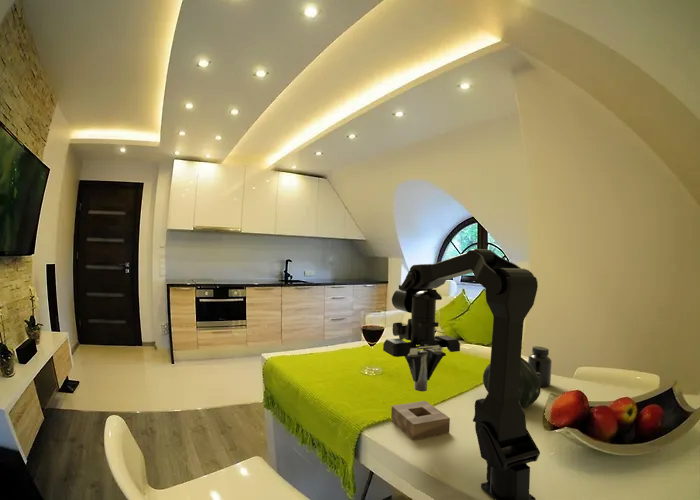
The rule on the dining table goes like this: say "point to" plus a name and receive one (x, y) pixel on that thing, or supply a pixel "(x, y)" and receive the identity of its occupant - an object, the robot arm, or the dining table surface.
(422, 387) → the pin
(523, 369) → the squash
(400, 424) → the hole block
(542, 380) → the supplement bottle
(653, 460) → the dining table surface
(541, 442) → the dining table surface
